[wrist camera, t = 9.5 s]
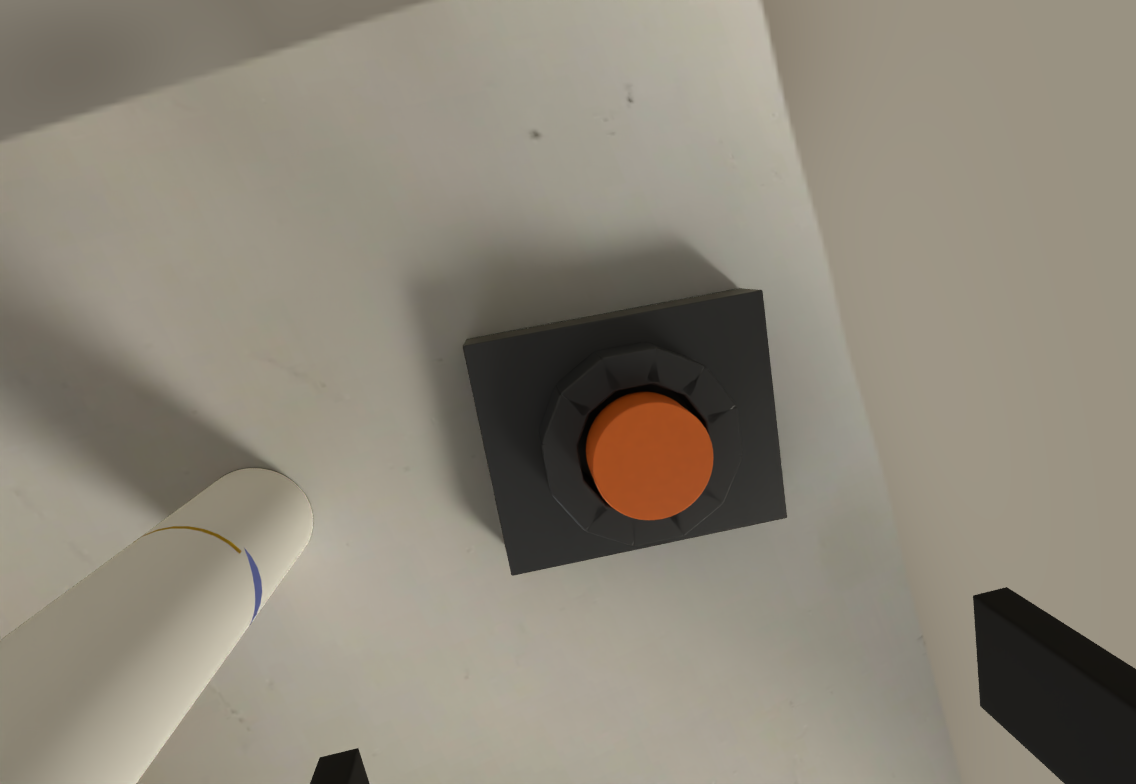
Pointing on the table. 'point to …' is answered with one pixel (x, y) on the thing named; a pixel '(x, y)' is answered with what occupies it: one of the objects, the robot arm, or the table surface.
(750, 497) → the button box
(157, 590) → the tube
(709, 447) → the button
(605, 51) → the table surface
